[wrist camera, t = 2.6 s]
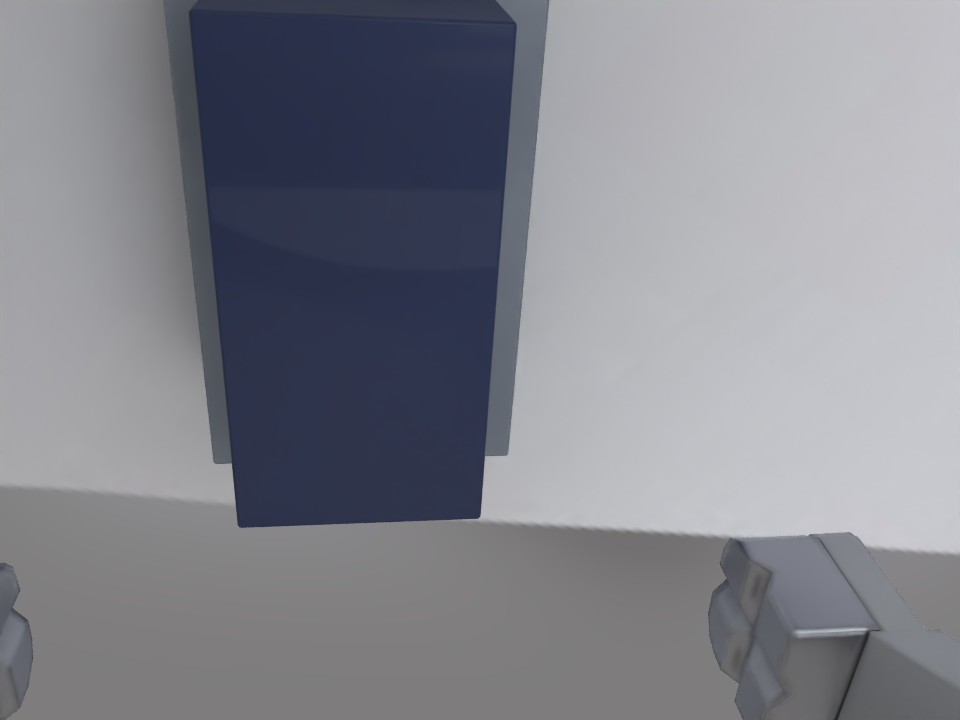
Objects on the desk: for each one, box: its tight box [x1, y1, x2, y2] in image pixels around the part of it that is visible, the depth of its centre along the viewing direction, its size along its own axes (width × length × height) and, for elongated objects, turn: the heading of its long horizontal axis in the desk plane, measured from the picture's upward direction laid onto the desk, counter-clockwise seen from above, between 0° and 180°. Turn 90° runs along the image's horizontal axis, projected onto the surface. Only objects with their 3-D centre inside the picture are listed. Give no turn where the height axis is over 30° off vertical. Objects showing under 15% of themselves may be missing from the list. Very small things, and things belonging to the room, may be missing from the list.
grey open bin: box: [163, 0, 549, 464], centre depth 21 cm, size 11×7×5 cm, turn 177°
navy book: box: [189, 0, 517, 528], centre depth 17 cm, size 10×5×2 cm, turn 177°
